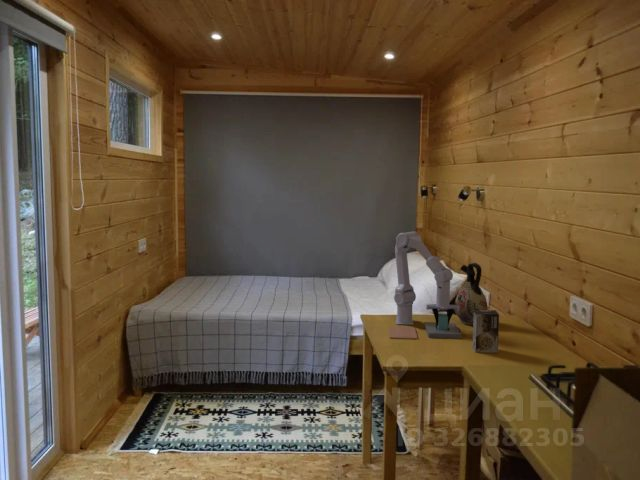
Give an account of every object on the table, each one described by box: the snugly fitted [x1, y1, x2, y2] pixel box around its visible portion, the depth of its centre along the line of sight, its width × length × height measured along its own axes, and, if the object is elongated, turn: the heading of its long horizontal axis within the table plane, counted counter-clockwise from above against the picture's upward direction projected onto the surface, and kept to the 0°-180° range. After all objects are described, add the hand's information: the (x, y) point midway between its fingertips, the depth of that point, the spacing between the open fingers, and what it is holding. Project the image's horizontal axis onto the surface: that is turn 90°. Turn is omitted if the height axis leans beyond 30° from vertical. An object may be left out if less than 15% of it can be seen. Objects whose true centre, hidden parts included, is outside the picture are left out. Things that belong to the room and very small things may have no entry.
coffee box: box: [472, 309, 500, 354], centre depth 215 cm, size 9×6×16 cm
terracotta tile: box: [388, 326, 418, 340], centre depth 239 cm, size 16×12×1 cm
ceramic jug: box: [454, 262, 489, 326], centre depth 254 cm, size 17×15×30 cm
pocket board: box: [424, 321, 462, 339], centre depth 241 cm, size 18×14×2 cm
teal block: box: [437, 312, 448, 330], centre depth 241 cm, size 6×4×8 cm, turn 175°
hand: (442, 325), depth 241 cm, fingers closed on teal block, 4 cm apart
